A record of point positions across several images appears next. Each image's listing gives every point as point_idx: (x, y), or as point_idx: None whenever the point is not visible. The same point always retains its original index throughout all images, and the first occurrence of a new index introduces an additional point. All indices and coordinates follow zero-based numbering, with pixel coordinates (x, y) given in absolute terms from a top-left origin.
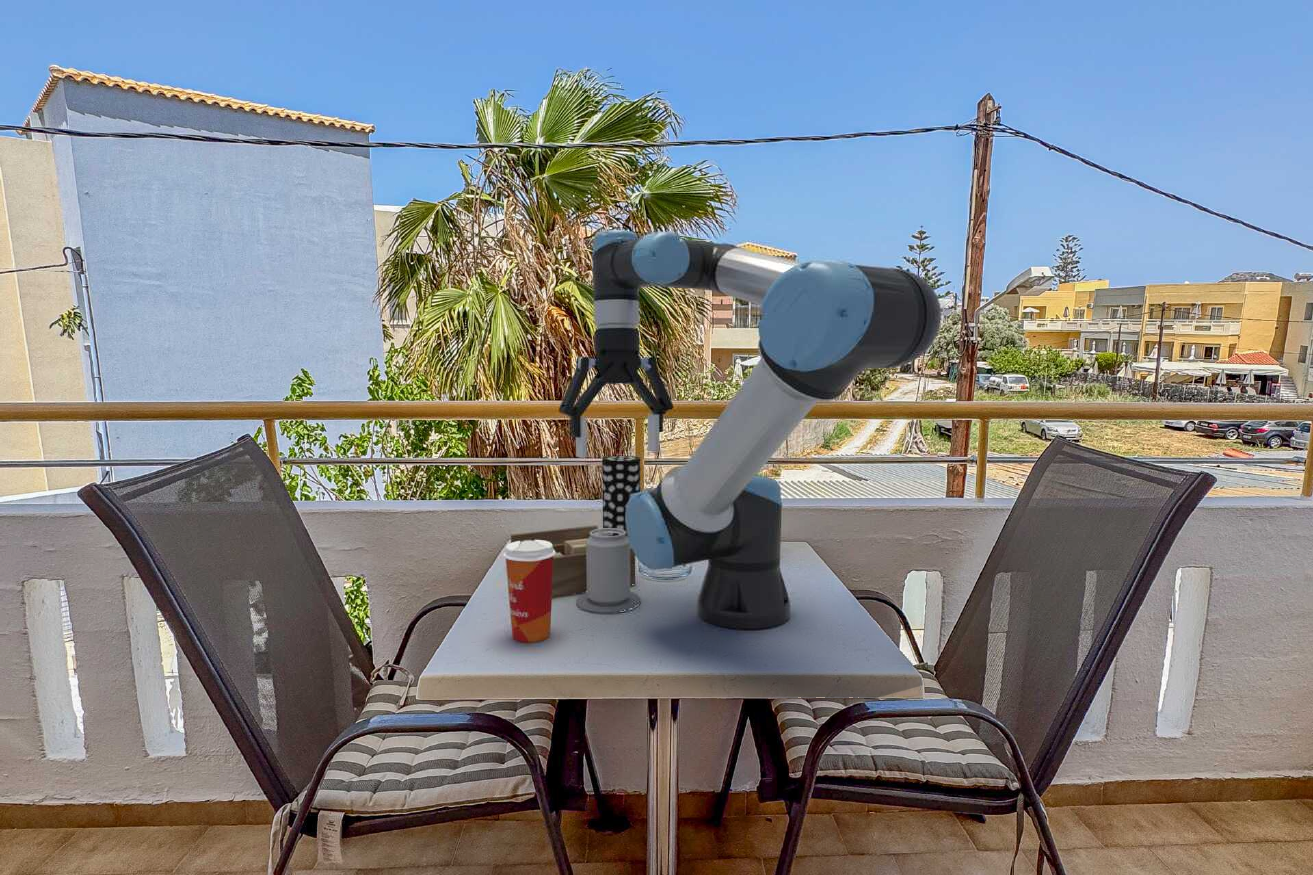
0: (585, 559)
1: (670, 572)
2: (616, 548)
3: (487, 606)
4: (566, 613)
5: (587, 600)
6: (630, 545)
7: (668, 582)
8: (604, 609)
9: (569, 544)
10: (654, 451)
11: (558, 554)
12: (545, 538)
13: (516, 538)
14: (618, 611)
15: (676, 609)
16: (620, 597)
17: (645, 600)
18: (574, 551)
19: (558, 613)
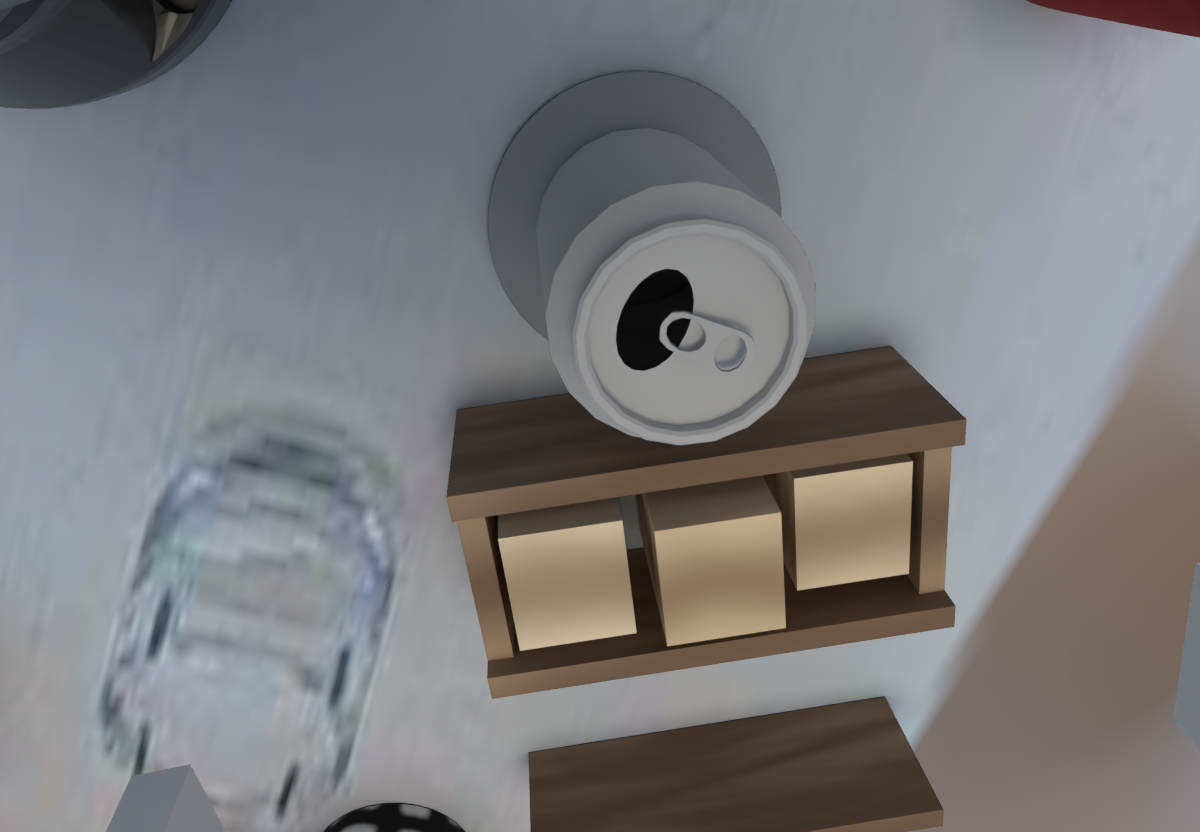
0: (723, 443)
1: (254, 530)
2: (668, 181)
3: (1102, 332)
4: (845, 147)
5: None
6: (367, 829)
7: (295, 405)
8: (691, 102)
9: (781, 570)
10: (198, 792)
11: (811, 564)
12: (781, 809)
13: (917, 801)
14: (631, 72)
15: (348, 27)
16: (610, 136)
17: (463, 200)
18: (771, 501)
19: (876, 159)
